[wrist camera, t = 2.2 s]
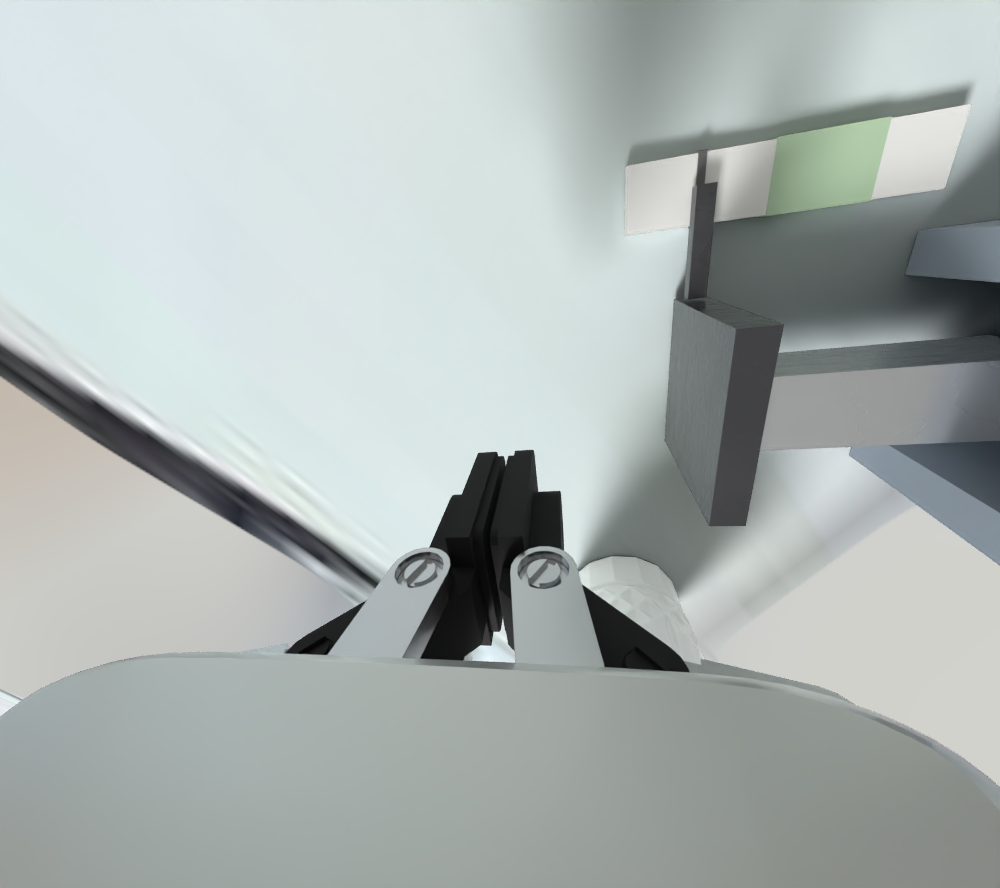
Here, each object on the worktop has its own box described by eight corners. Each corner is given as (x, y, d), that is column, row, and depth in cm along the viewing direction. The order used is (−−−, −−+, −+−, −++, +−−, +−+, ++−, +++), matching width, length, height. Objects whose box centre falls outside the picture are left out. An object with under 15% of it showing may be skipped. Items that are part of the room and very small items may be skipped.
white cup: (659, 642, 27) (704, 829, 19) (550, 618, 28) (544, 788, 19) (702, 562, 24) (783, 749, 15) (575, 535, 24) (582, 701, 15)
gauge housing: (1358, 35, 11) (2645, -308, 4) (1100, 445, 17) (1465, 581, 10) (625, 166, 15) (677, 98, 8) (621, 463, 21) (650, 570, 14)
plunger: (996, 138, 13) (1370, 45, 7) (893, 429, 18) (1063, 523, 12) (681, 190, 15) (760, 152, 9) (664, 440, 20) (709, 526, 14)
